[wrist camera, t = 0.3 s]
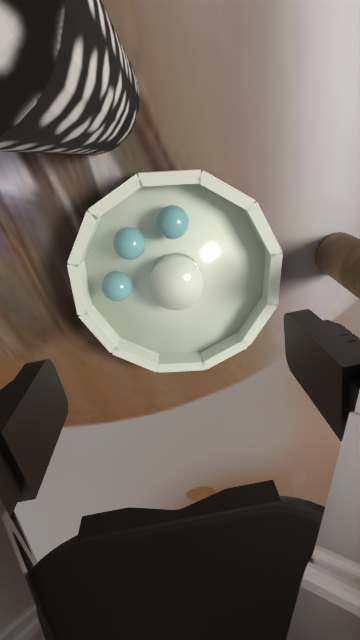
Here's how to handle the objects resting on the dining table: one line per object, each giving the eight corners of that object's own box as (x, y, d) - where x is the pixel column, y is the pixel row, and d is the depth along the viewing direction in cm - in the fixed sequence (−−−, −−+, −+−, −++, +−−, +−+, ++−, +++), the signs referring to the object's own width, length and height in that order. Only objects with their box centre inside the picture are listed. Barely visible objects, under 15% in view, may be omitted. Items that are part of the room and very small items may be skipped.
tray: (125, 125, 27) (117, 120, 23) (310, 232, 31) (328, 241, 27) (54, 312, 34) (40, 330, 31) (211, 378, 38) (215, 400, 35)
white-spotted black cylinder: (16, 41, 24) (-417, -279, 7) (125, 17, 24) (-20, -401, 6) (54, 162, 28) (-156, 172, 10) (149, 144, 28) (104, 120, 10)
